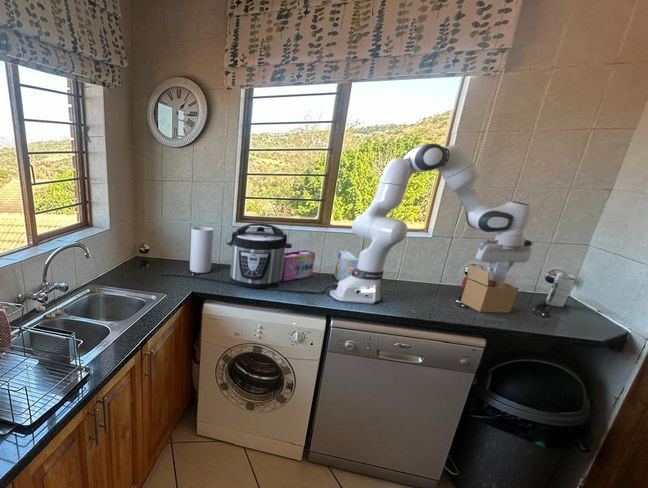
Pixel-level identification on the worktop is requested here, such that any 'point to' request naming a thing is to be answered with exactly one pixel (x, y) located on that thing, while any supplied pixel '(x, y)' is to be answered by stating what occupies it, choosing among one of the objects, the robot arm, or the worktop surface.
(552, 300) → the syrup box
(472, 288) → the open cardboard box
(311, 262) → the gum box
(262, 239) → the pressure cooker
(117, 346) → the worktop surface
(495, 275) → the medicine box
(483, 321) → the worktop surface
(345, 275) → the snack box
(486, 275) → the flap
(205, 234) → the cylinder vase
